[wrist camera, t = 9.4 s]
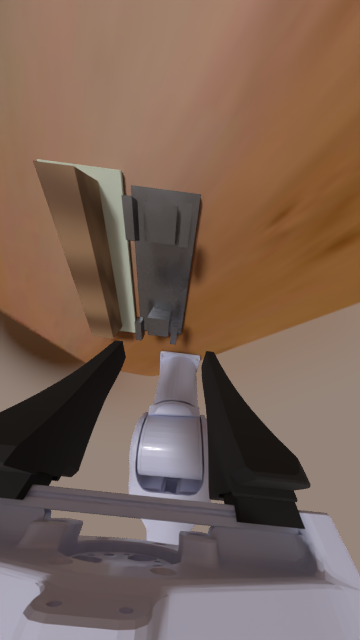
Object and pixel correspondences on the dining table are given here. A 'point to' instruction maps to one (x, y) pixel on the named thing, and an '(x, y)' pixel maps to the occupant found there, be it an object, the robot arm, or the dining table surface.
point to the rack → (161, 255)
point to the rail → (83, 242)
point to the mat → (114, 237)
